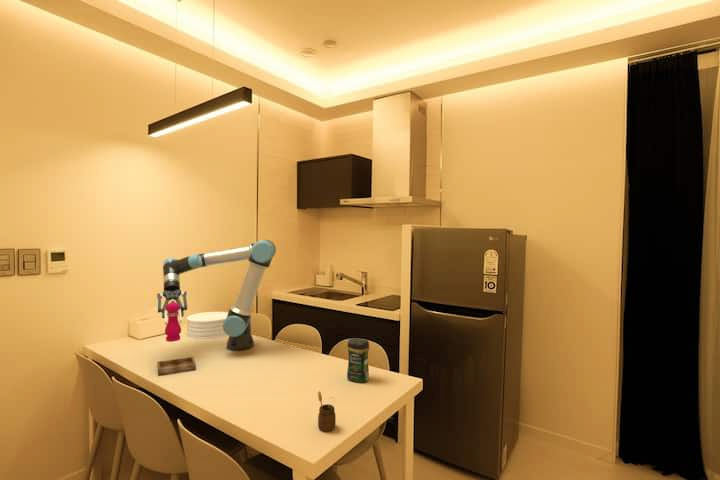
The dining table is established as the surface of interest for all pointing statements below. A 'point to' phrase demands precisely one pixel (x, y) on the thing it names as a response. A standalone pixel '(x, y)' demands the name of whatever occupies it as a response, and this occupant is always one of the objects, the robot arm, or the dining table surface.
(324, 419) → the utensil holder
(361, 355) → the coffee jar
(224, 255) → the robot arm
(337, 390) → the dining table surface
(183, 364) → the tray
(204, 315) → the plate stack
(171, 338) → the pepper mill
